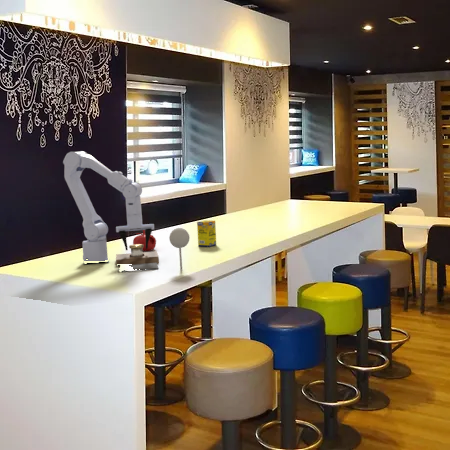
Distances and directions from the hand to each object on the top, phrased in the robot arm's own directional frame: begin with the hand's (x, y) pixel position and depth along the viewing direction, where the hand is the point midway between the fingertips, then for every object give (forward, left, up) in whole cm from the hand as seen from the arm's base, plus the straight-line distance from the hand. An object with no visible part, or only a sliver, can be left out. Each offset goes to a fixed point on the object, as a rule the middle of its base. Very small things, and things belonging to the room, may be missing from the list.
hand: (136, 249), depth 238 cm
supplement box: (+31, +25, -5) cm, 40 cm away
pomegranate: (+4, +26, -5) cm, 27 cm away
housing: (0, 0, -5) cm, 5 cm away
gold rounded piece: (0, 0, -5) cm, 5 cm away
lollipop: (+15, -22, -5) cm, 27 cm away
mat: (0, -13, -5) cm, 14 cm away
